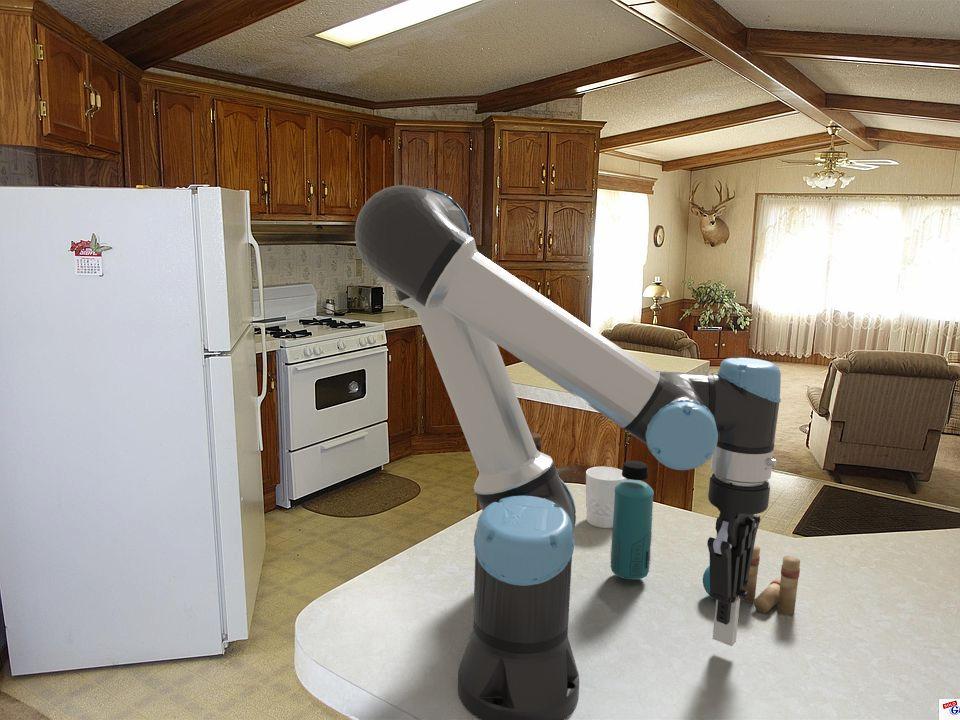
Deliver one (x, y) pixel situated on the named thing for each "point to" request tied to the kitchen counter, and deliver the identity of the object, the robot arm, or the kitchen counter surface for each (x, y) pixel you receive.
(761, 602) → the pin front
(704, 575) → the ball
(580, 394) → the robot arm
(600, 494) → the white cup
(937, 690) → the kitchen counter surface
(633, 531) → the beverage bottle
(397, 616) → the kitchen counter surface
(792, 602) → the pin back right
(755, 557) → the pin back left
